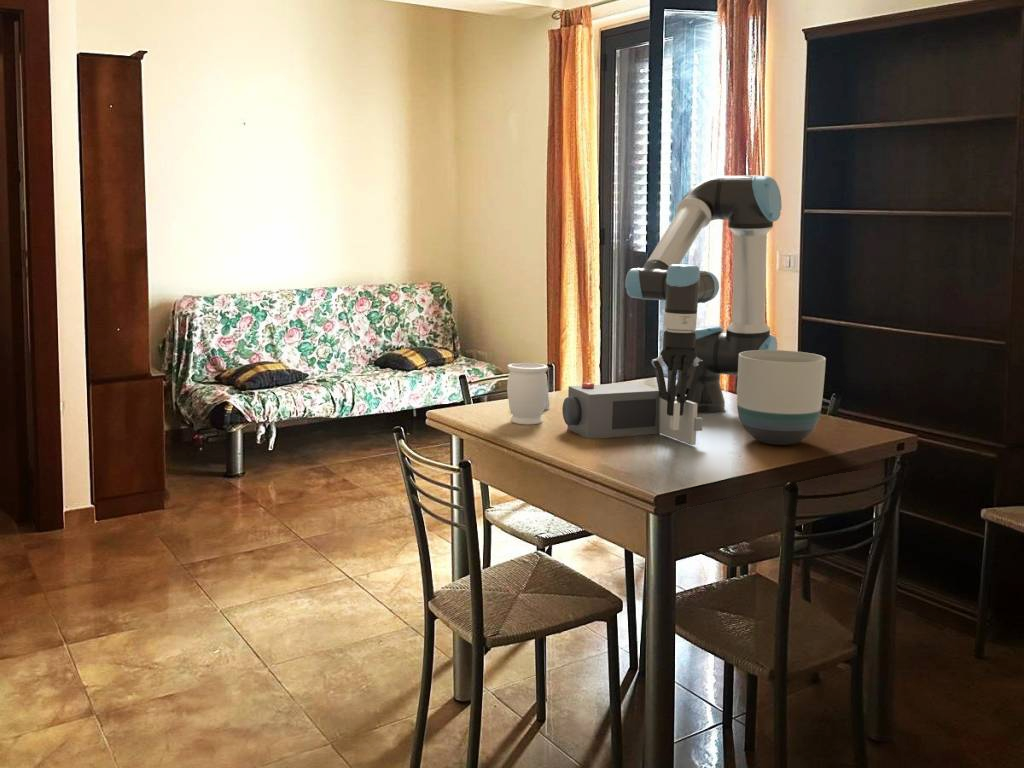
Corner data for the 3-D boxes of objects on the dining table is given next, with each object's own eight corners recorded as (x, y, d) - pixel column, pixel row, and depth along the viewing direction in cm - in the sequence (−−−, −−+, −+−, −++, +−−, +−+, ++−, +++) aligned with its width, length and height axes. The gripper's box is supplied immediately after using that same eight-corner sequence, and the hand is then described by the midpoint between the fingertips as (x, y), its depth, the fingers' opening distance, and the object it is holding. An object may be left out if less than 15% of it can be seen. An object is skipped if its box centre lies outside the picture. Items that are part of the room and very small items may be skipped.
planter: (717, 436, 268) (722, 351, 264) (786, 431, 275) (791, 348, 271) (765, 455, 249) (771, 364, 245) (837, 449, 257) (844, 360, 253)
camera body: (636, 424, 281) (638, 378, 279) (660, 433, 269) (662, 386, 267) (560, 429, 272) (561, 382, 270) (580, 439, 261) (582, 391, 259)
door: (656, 432, 269) (658, 393, 267) (665, 431, 270) (667, 392, 268) (692, 445, 255) (694, 404, 253) (701, 444, 256) (703, 403, 254)
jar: (498, 421, 281) (499, 364, 278) (524, 416, 288) (526, 360, 285) (528, 428, 273) (529, 369, 271) (554, 422, 281) (556, 365, 278)
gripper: (658, 332, 247) (653, 432, 251) (711, 332, 250) (705, 432, 254) (648, 328, 255) (643, 425, 259) (700, 329, 257) (694, 425, 261)
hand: (674, 428), depth 256 cm, fingers closed
